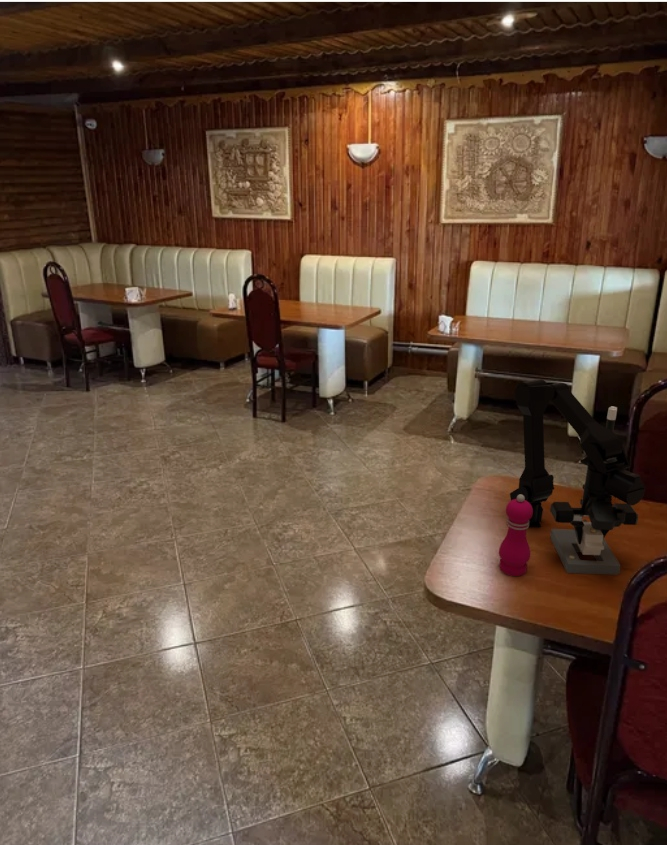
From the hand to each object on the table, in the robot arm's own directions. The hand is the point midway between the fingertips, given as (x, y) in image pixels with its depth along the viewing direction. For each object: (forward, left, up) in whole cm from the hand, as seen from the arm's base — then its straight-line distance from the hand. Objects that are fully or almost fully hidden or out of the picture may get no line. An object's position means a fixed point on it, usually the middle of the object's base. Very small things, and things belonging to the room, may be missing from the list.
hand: (588, 543), depth 153 cm
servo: (0, 0, -1) cm, 1 cm away
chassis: (0, +2, -5) cm, 5 cm away
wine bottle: (+12, +28, -5) cm, 31 cm away
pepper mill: (-18, -5, -5) cm, 20 cm away
